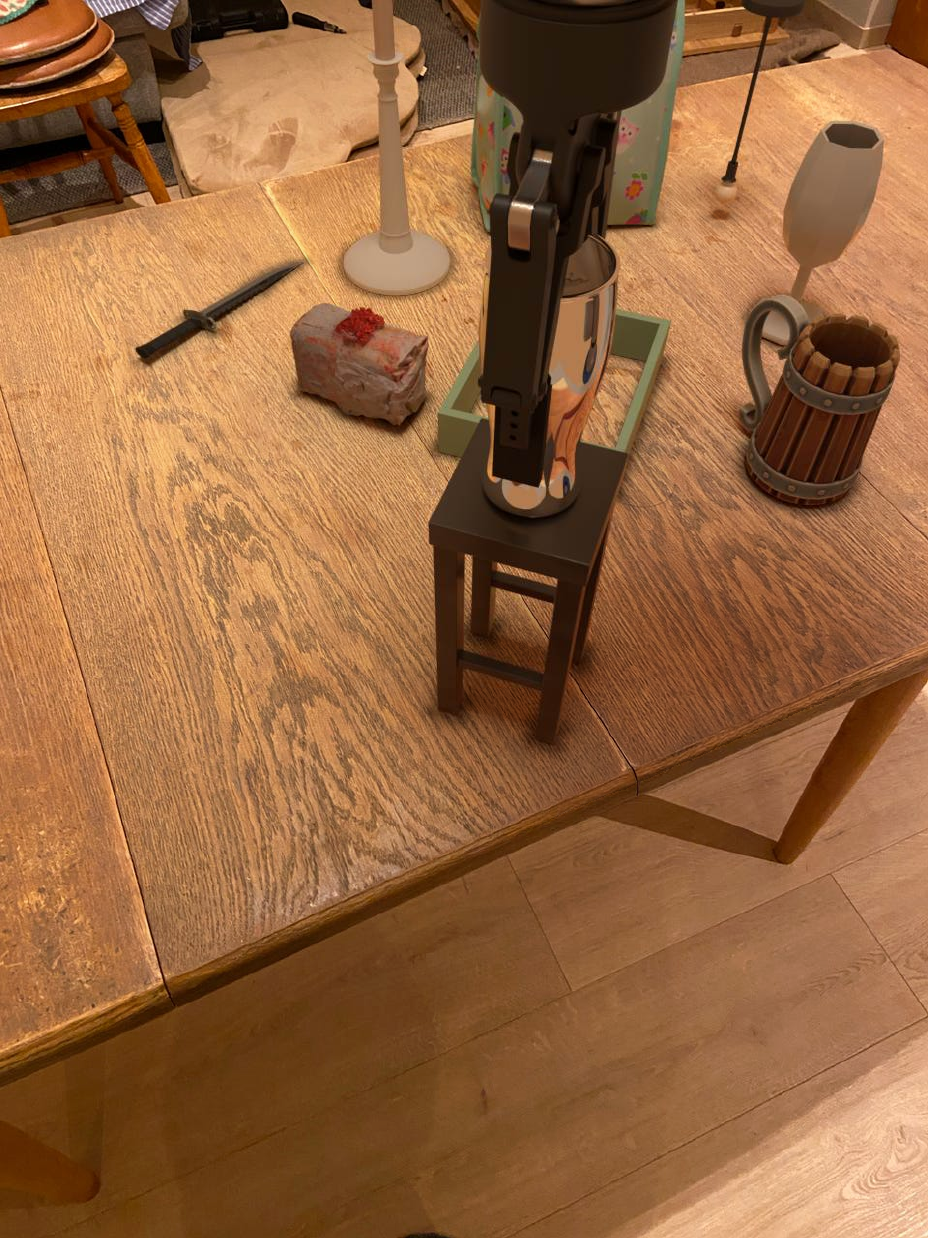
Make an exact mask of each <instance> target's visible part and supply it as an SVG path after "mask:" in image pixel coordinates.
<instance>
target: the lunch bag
mask: <svg viewBox="0 0 928 1238" xmlns="http://www.w3.org/2000/svg"><path fill="white" fill-rule="evenodd" d="M480 20H481V10H480V12H479V15H478V22H477V27H476V38H477V41H478V42H479V43H478V51H477V63H476V83H475V99H474V115H473V125H472V126H473V127H472V138H471V152H470V153H471V156H470V158H471V159H470V175H471V176H470V177H471V180H472V181H473V183H474V185H475V186H476V187H477V188H478V191H477V194H478V200H479V206H480V210H481V215H482V220H483V224H484V228H485V230H486V231H487V232H488V233H490V215H489V208H490V204H491V202H492V201H493V197H494V196H495V194H496V193H501V194H506V195H509V189H510V179H509V176H508V174H507V162H508V154H509V147H510V142H511V139H512V136H513V134H514V132H519V133H520V131H521V126H522V124H523V118H522V114H521V113H520V111H519V110H518V109H517V108H516V107H515V106H514V105H513V104H512V103H511V102H510V101H508V100H507V99H506V98H505V97H501V96H500V95H498V94H497V93H496V92H495V91H493V90H492V89H491V88H490V86H489V85H488V84H487V83H486V81H485V79H484V77H483V75H482V72H481V69H480ZM685 28H686V0H678V3H677V9H676V15H675V21H674V26H673V32H672V38H671V43H670V49H669V55H668V61H667V66H666V72H665V76H664V79H663V81H662V83H661V85H660V86H659V88H658V89H657V90H656V91H655V92H654V93H653V94H652V95H651V96H650V97H649V98H648V99H646V100H645V101H643V102H641V103H640V104H638V105H636V106H633V107H631V108H628V109H625V110H622V113H621V118H620V124H619V137H618V141H617V148H616V156H615V165H614V173H613V181H612V189H611V197H610V206H609V214H608V222H607V226H610V225H612V226H614V225H615V226H616V225H617V226H618V225H645V226H646V225H647V226H652V225H654V223H655V221H656V216H657V210H658V206H659V200H660V196H661V191H662V188H663V182H664V176H665V171H666V166H667V161H668V154H669V147H670V139H671V129H672V123H673V116H674V108H675V99H676V93H677V87H678V83H679V78H680V71H681V65H682V61H683V55H684V47H685V36H686V35H685V34H686V33H685V32H686V31H685V30H686V29H685Z"/></svg>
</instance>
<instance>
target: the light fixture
mask: <svg viewBox="0 0 928 1238" xmlns="http://www.w3.org/2000/svg"><path fill="white" fill-rule="evenodd" d="M807 1H808V0H740V4H741V7H742V8H744V10H746V11H748V12H750V13H752V14H753V15H757V16H761V17H765V21H764V25H763V27H764V29H763V32H762V35H761V36H762V37H761V39H760V43H759V48H758V53H757V56H756V60H755V64H754V69H753V71H752V77H751V81H750V85H749V88H748V93H747V97H746V101H745V105H744V110H743V113H742V116H741V122H740V126H739V129H738V132H737V133H738V134H737V137H736V141H735V145H734V150H733V153H732V155H731V160H729V161H727V166H726V169H725V172H724V173H725V174H724V175H723V176H722V177H721V181H722V182H720V183H719V184H718V185H717V186H716V188H715V191H714V197H715V199H716V201H717V202H718V203H720V204H723V205H728V204H730V203H732V202H733V201H734V200H735V199H736V198H737V195H738V188H737V185H736V184H735V183H736V182H737V178H736V175H737V171H738V169H739V168H738V167H739V162H738V156H739V151H740V147H741V144H742V143H741V142H742V139H743V134H744V131H745V127H746V123H747V118H748V115H749V112H750V106H751V102H752V99H753V95H754V91H755V87H756V83H757V79H758V75H759V71H760V67H761V64H762V59H763V55H764V50H765V47H766V43H767V40H768V39H767V38H768V35H769V31H770V28H771V26H772V23H773V19H785V18H792V17H796V16H798V15H801V14H802V13H803V12H804V10H805V8H806V4H807Z"/></svg>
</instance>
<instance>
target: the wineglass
mask: <svg viewBox="0 0 928 1238" xmlns="http://www.w3.org/2000/svg"><path fill="white" fill-rule="evenodd" d="M884 146H885V139H884V137H883V135H882V134H881V132H880V130H879V129H878V128H877V127H875V126H872V125H868V124H865V123H862V122H860V121H856V120H830V121H829V122H828V123H826V125H824V126H823V127H822V128H821V129H820V131H819V132H818V133H817V135H816V137H815V138H814V140H813V142H812V143H811V145H810V146H809V148H808V149H807V151H806V153H805V154H804V157H803V160H802V161H801V163H800V165H799V168H798V170H797V172H796V175H795V176H794V179H793V181H792V183H791V185H790V189H789V192H788V195H787V198H786V200H785V204H784V207H783V213H782V214H783V217H782V234H781V237H782V240H783V242H784V245H785V247H786V250H787V252H788V253H789V255H791V257H792V258H793V259H794V260H795V261H796V262H797V263H798V265H799V267H798V270H797V274H796V276H795V279H794V282H793V285H792V288H791V290H790V294H789V296H790V297H792V298H794V299H795V300H797V301H798V302H799V303H800V304H801V305H802V307H803V308H804V310H805V311H806V313H807V316H808V318H809V323H811V322H812V321H813V320H814V319H816V318H818V317H820V316H821V317H825V316H824V313H823V310H822V308H821V307H820V306H817V305H815V304H812V303H809V302H807V301H804V300H803V298H804V295H805V292H806V289H807V286H808V283H809V280H810V278H811V275H812V272H813V269H815V268H818V267H821V266H824V265H827V264H829V263H833V262H836V261H838V260H839V259H840V258H841V257H842V256H843V255H844V254H845V252H847V251H848V250H849V248H850V246H851V245H852V243H854V240H855V239H856V237H857V236H858V235H859V234H860V233H861V230H862V229H863V227H864V226H865V225H866V222H867V219H868V216H869V214H870V211H871V209H872V206H873V203H874V200H875V197H876V193H877V190H878V185H879V180H880V175H881V172H882V166H883V161H884V159H883V158H884V148H885V147H884ZM771 297H772V296H763V297H762V298H761V299H760V300H759V301H758V302H757V303H756V304H755V305H754V307H755V306H756V305H758V304H759V303H760V302H763V301H765V300H767V299H769V298H771ZM752 310H753V308H751V310H750V311H749V312H748V315H749V314H750V313H751V311H752ZM789 336H790V330H789V326H788V323H787V321H786V320H785V318H784V317H783V316H782V315H780V314H779V313H777V312H775V311H771V312H770V313H769V315H768V316H767V318H766V320H765V323H764V327H763V332H762V338H764V339H767V340H769V341H771V342H773V343H777V344H778V345H781V346H786V345H787V343H788V341H789Z"/></svg>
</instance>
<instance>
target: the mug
mask: <svg viewBox="0 0 928 1238" xmlns="http://www.w3.org/2000/svg"><path fill="white" fill-rule="evenodd" d="M770 297H771V298H769V299H767V300H765V301H763V302H760V303H759V304H758V305H756V304H755V305H756V306H755V305H754V306H753V307H752V309H753V310H752V309H751V310H752V311H751V310H750V311H751V313H750V314H749V313H748V316H747V318H746V321H745V324H744V327H743V328H744V329H743V334H742V342H741V362H742V368H743V372H744V376H745V379H746V383H747V385H748V389H749V392H750V394H751V397H752V401H753V402H754V404H753V403H752V402H748V403H746V404H744V405H741V406H740V407H739V408H738V415H737V416H738V418H739V422H740V424H741V425H742V426H743V428H745V429H746V430H747V431H751V432H752V434H751V436H750V438H749V441H748V443H747V447H746V452H745V453H746V454H745V459H746V461H745V466H746V470H747V471H748V473H749V476H750V477H751V478H752V479H753V480H754V482H755V483H756V484H757V485H758V486H759V487H760V488H761V489H762V490H763V491H765V492H766V493H768V494H770V495H771V496H773V497H774V498H777V499H779V500H781V501H783V502H787V503H791V504H795V505H804V506H817V505H824V504H827V503H832V502H836V500H839V499H841V498H842V497H844V496H845V495H846V494H847V491H849V490H850V489H851V487H852V486H853V485H854V483H856V480H857V478H858V476H859V473H860V471H861V468H862V466H863V461H864V454H865V452H866V449H867V447H868V444H869V441H870V439H871V436H872V433H873V431H874V428H875V426H876V423H877V420H878V418H879V416H880V413H881V411H882V408H883V405H884V404H885V403H886V401H887V399H888V397H889V396H890V392H891V390H892V387H893V386H894V385H893V384H894V383H895V380H896V371H897V370H898V369H897V368H898V366H899V364H900V360H901V351H900V344H899V343H900V342H899V341H898V338H897V337H896V336H895V335H893V334H889V331H888V329H887V327H886V326H884V325H883V324H881V323H879V322H873V323H872V324H870V322H869V321H870V320H869V319H868V318H867V317H865V316H862V315H858V314H853V315H851V316H850V317H849V318H847V316H846V314H844V313H841V312H840V313H839V312H838V313H837V312H836V313H832V314H830V315H829V316H826V317H825V316H824V317H821V316H820V317H818V318H816V319H814V320H813V321H812V322H811V323H809V318H808V316H807V313H806V311H805V310H804V308H803V307H802V305H801V304H800V303H799V302H798V301H797V300H795V299H794V298H792V297H790V295H787V294H784V293H783V294H776V295H774V296H770ZM771 311H775V312H777V313H779V314H780V315H782V316H783V317H784V318H785V320H786V321H787V323H788V326H789V330H790V336H789V341H788V343H787V345H783V346H782V347H780V348H778V349H777V350H776V353H777V355H778V356H777V357H778V361H784V360H785V362H784V364H783V368H782V373H781V375H780V377H779V379H778V381H777V384H776V386H775V389H774V391H773V392H772V390H771V388H770V384H769V381H768V379H767V377H766V373H765V369H764V366H763V365H764V364H763V361H762V353H761V351H762V350H761V346H762V338H763V337H762V332H763V327H764V323H765V320H766V318H767V316H768V315H769V313H770V312H771Z"/></svg>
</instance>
